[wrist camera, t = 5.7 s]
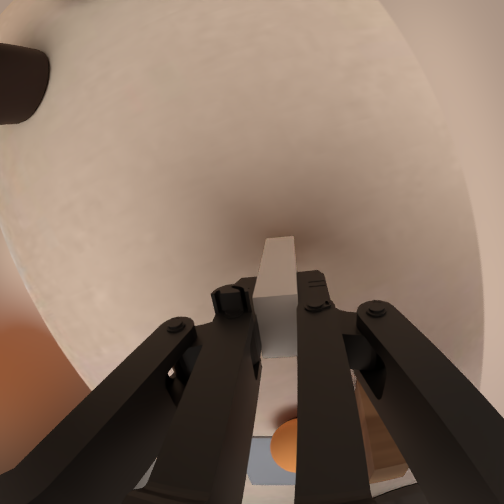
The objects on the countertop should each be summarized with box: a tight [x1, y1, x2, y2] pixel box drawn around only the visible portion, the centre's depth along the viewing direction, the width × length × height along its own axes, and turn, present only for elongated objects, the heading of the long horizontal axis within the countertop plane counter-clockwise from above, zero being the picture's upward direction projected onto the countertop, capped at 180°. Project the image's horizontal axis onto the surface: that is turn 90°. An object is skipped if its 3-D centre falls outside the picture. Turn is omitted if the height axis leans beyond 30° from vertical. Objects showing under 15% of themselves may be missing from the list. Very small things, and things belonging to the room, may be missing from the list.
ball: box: [270, 418, 297, 473], centre depth 21 cm, size 6×6×6 cm
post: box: [355, 379, 409, 484], centre depth 17 cm, size 3×3×9 cm
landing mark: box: [247, 437, 296, 485], centre depth 26 cm, size 14×14×1 cm
